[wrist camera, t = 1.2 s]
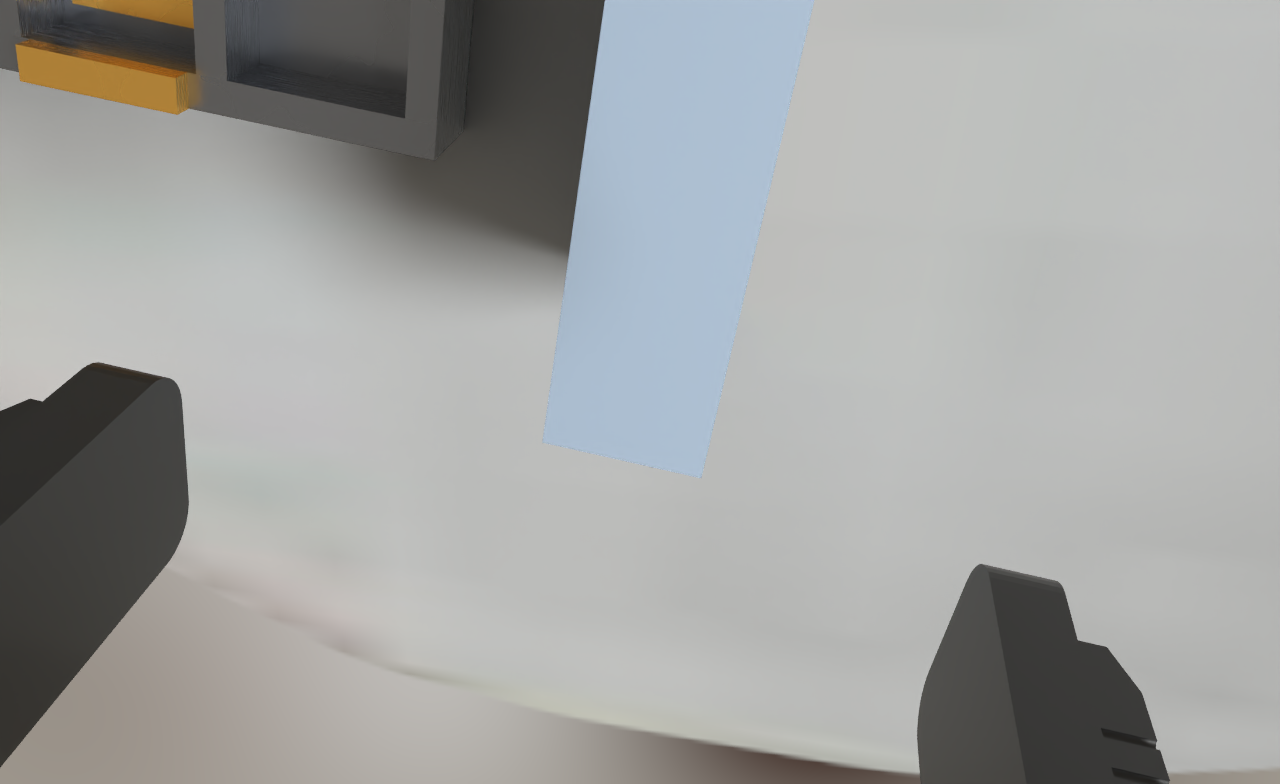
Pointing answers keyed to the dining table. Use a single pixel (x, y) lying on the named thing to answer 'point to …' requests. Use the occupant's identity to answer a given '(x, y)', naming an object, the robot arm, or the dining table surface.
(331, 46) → the rack
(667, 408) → the panel
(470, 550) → the dining table surface
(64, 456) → the robot arm
